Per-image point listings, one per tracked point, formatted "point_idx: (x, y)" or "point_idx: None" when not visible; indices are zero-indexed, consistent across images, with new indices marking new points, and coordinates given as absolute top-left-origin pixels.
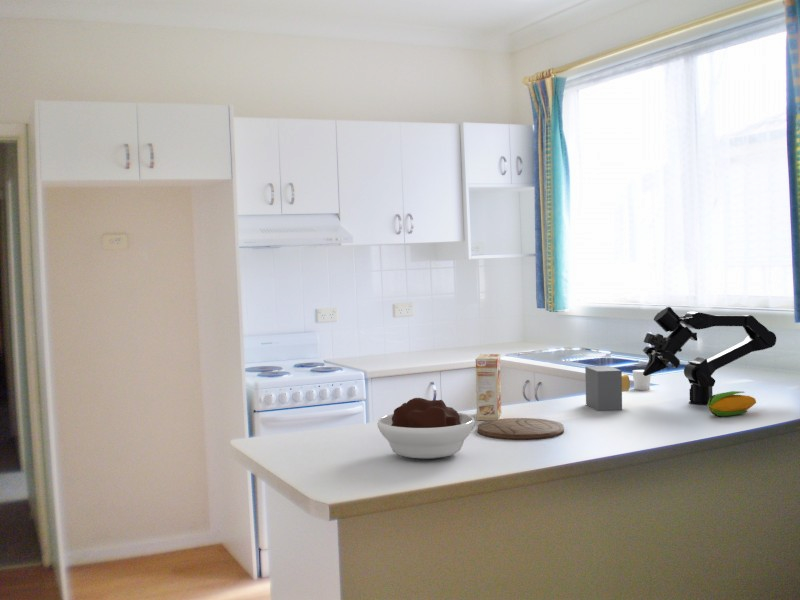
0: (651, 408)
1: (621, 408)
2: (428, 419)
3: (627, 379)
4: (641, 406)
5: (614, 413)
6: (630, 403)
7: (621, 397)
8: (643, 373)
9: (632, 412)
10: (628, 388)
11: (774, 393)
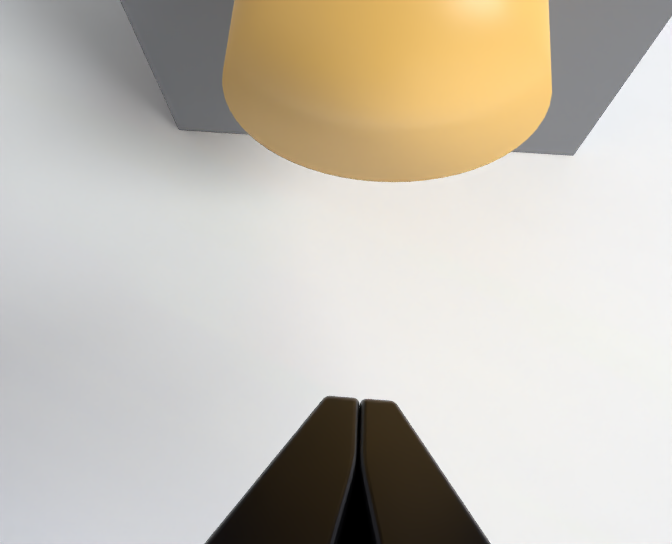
0: (146, 449)
1: (175, 114)
2: None
3: (233, 18)
4: (308, 400)
5: (53, 12)
6: (537, 372)
7: (142, 42)
8: (347, 399)
9: (23, 164)
10: (261, 132)
11: None
